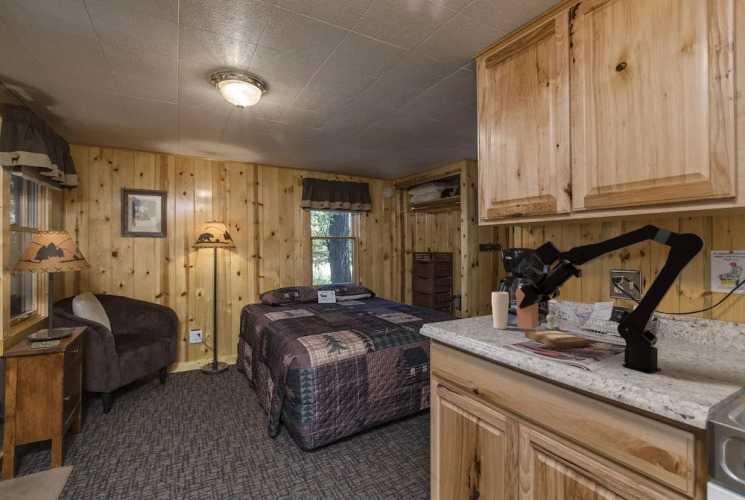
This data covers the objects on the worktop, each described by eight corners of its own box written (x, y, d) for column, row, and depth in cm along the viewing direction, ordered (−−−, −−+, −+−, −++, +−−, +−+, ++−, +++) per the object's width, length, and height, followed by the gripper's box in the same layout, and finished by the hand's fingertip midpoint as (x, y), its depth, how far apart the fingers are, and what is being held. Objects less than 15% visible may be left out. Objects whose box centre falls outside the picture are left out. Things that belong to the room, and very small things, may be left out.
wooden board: (589, 345, 119) (589, 338, 119) (558, 348, 115) (558, 341, 115) (553, 334, 134) (553, 328, 134) (525, 337, 131) (525, 330, 131)
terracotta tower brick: (538, 326, 119) (537, 289, 119) (531, 329, 116) (530, 290, 116) (524, 324, 123) (523, 287, 123) (517, 326, 120) (516, 289, 120)
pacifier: (546, 327, 149) (539, 328, 145) (546, 312, 149) (539, 313, 145) (564, 330, 143) (556, 332, 139) (564, 315, 143) (557, 316, 140)
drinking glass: (488, 327, 148) (488, 292, 148) (501, 326, 150) (501, 291, 150) (498, 330, 141) (498, 293, 142) (512, 329, 143) (512, 293, 144)
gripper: (550, 258, 123) (520, 287, 131) (526, 259, 111) (494, 291, 119) (575, 282, 117) (541, 311, 125) (552, 286, 105) (516, 317, 113)
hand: (523, 307), depth 121 cm, fingers closed on terracotta tower brick, 5 cm apart
